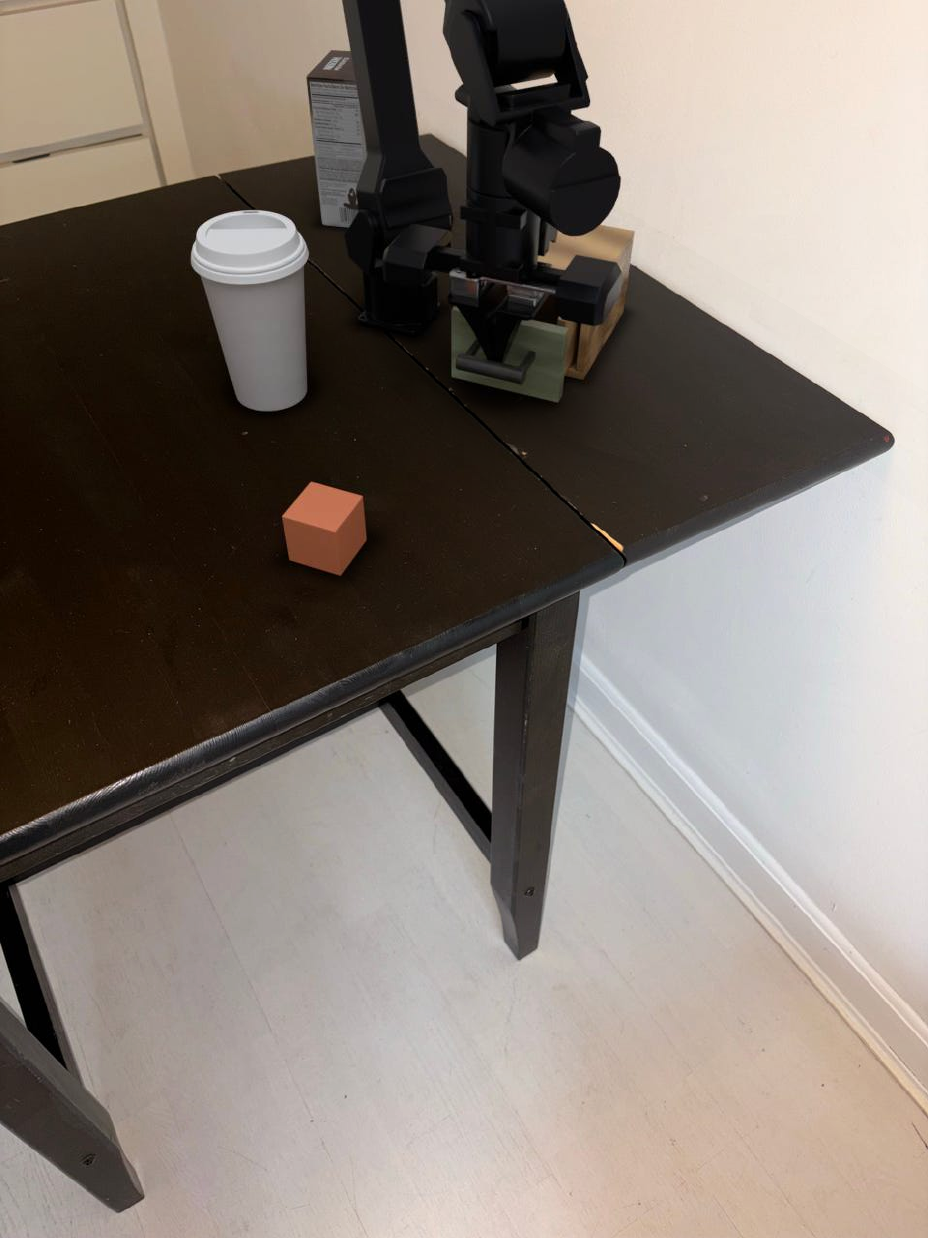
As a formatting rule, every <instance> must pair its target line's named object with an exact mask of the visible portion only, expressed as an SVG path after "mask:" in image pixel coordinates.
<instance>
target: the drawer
mask: <svg viewBox="0 0 928 1238" xmlns="http://www.w3.org/2000/svg"><path fill="white" fill-rule="evenodd" d="M507 295H508V292H507V285H502V291H501V296H500V304H501V303H502V302H503V300H504V299H505V298H506V296H507ZM553 303H554V295H552V294H550V295H549V296H548V298H547V299H546V301H545V302H544V303H543V305H542V306H541V308H540V309H539V311H538V312H537V313H536V315H535V316H534V318H533V319H532V320H529V321H523V320H522V322H521V324H520V327H519V329H518V331H517V334H516V336H515V338H514V341H513V343H512V346H511V348H510V350H509V353H508V355H507V358H506V360H505V362H504V363H501V362H497V361H492V360H488V359H487V358H486V356H485V354H484V352H483V350H482V348H481V346H480V344H479V342H478V340H477V338H476V336H475V334H474V332H473V331H472V329H471V328H470V326H469V325H468V323H467V321H466V320H465V318H464V317H463V315H462V314H461V312H460V311H459V309H458V308H457V307H456V306H453V307H452V309H451V378H453V379H459V380H462V381H467V382H471V383H475V384H478V385H482V386H486V387H487V386H488V387H491V388H495V389H500V390H504V391H508V392H512V393H517V394H520V395H524V396H528V397H533V398H538V399H541V400H545V401H550V402H554V403H559V402H560V400H561V398H562V397H563V391H564V382H565V377H566V376H565V374H566V373H567V371H568V370H569V368H570V366H571V365H572V363H573V362H574V360H575V358H576V357H577V355H578V348H579V338H580V329H581V323H576V322H571V321H566V320H562V319H561V318H560V317H559V315H558V314H557V313H556V311H555V310H554V309H553Z"/></svg>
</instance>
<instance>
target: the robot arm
mask: <svg viewBox="0 0 928 1238" xmlns="http://www.w3.org/2000/svg"><path fill="white" fill-rule="evenodd" d="M443 1H444V4H445V6H444V13H443V21H442V35H443V37H444V40H445V43H446V45H447V47H448V49H449V53H450V57H451V60H452V63H453V65H454V67H455V70H456V72H457V74H458V76H459V78H460V81H461V82H462V84H461V85H460V86H458V88H456V90H455V91H454V99H455V101H456V102H457V103H459V104H460V105H462V106H464V107H465V108H466V171H465V172H466V174H465V175H466V177H465V179H466V181H465V183H466V184H465V200H464V201H463V202H462V203H461V204H460V205H459V214H460V215H459V219H460V220H464V221H465V250H464V249H459V248H454V236H453V234H452V231H453V226H454V219H455V217H454V213H453V208H452V205H451V202H450V197H449V191H448V177H447V174H446V172H445V171H444V169H443V168H442V167H441V166H437V167H436V165H435V164H434V163H433V161H432V160H431V159H430V157H429V156H428V154H427V153H426V152H425V151H424V150H423V148H422V144H421V139H420V131H419V123H418V115H417V109H416V102H415V95H414V87H413V81H412V74H411V67H410V59H409V53H408V46H407V38H406V31H405V24H404V18H403V17H404V16H403V10H402V2H401V0H341V2H342V3H341V4H342V9H343V15H344V21H345V27H346V33H347V38H348V45H349V51H351V57H352V63H353V69H354V75H355V81H356V87H357V93H358V99H359V105H360V111H361V117H362V123H363V129H364V135H365V141H366V147H367V157H366V160H365V163H364V166H363V169H362V172H361V175H360V178H359V181H358V184H357V187H356V195H357V204H358V213H357V215H356V216H355V218H354V220H353V221H352V223H351V225H350V226H349V228H347V230H346V231H345V233H344V242H345V246H346V251H347V257H348V258H349V259H350V261H352V262H353V263H354V264H355V265H356V266H357V267H358V268H359V269H360V270H361V271H362V281H363V282H362V283H363V297H364V308H365V309H364V311H363V312H362V313H361V314H360V315H359V316H357V320H358V321H357V322H358V324H360V325H364V326H369V327H373V328H378V329H382V330H386V331H391V332H395V333H399V334H404V335H407V336H417V335H418V334H419V333H420V332H421V331H422V330H423V328H424V327H425V326H426V325H427V324H428V322H430V321H431V320H432V319H433V317H434V316H435V315H436V314H437V313H438V311H439V310H440V309H441V303H440V301H439V299H438V298H439V295H438V294H439V293H438V290H439V289H438V274H437V272H438V273H439V272H440V273H445V274H448V278H449V279H451V281H450V283H451V288H450V289H451V291H450V292H449V293H448V295H447V297H446V298H447V299H446V300H447V304H448V305H449V306H453V307H454V306H456V307H457V308H458V309H459V311H460V312H461V314H462V315H463V317H464V318H465V320H466V321H467V323H468V325H469V326H470V328H471V329H472V331H473V332H474V334H475V336H476V338H477V340H478V342H479V344H480V346H481V348H482V350H483V352H484V354H485V356H486V358H487V359H488V360H492V361H497V362H501V363H504V362H505V360H506V358H507V355H508V353H509V350H510V348H511V346H512V343H513V341H514V338H515V336H516V334H517V331H518V329H519V327H520V324H521V322H522V320H523V321H529V320H532V319H533V318H534V316H535V315H536V313H537V312H538V311H539V309H540V308H541V306H542V305H543V303H544V302H545V301H546V299H547V298H548V296H549V295H550V294H552V295H554V303H553V309H554V310H555V311H556V313H557V314H558V315H559V317H560V318H561V319H562V320H566V321H571V322H576V323H581V324H586V325H590V326H597V325H601V324H603V323H604V321H605V319H606V318H607V316H608V314H609V313H610V311H611V309H612V308H613V306H614V304H615V303H616V301H617V299H618V298H619V296H620V294H621V287H622V280H623V274H622V271H621V269H620V267H619V265H618V264H617V262H612V261H607V260H602V259H597V258H591V257H586V256H581V255H575V257H574V258H573V260H572V261H571V263H570V264H569V265H568V267H567V268H566V270H562V269H557V268H552V264H549V263H544V262H539V261H538V255H539V256H543V257H544V256H545V255H546V253H547V252H548V251H549V242H550V241H551V242H552V243H555V242H556V239H557V233H558V231H559V232H561V233H562V234H565V235H568V236H582V235H585V234H587V233H589V232H591V231H593V230H594V229H595V228H597V227H598V226H599V225H602V223H603V222H604V221H605V220H606V219H607V218H608V217H609V215H610V214H611V212H612V211H613V209H614V207H615V205H616V202H617V201H618V198H619V193H620V189H621V185H622V184H621V183H622V176H621V175H620V172H619V171H620V170H619V165H618V163H617V161H616V159H615V156H614V155H613V154H612V153H611V152H610V151H609V150H607V149H606V148H604V147H602V146H601V140H602V139H601V138H602V128H601V126H599V125H598V124H596V123H594V122H593V121H591V120H585V119H581V118H580V117H578V116H576V115H574V114H573V113H572V111H576V110H582V109H587V108H590V106H591V97H590V92H589V89H588V88H589V87H588V85H587V80H589V74H588V72H587V69H586V67H585V64H584V61H583V58H582V55H581V53H580V50H579V47H578V42H577V39H576V36H575V32H574V28H573V23H572V20H571V16H570V13H569V10H568V7H567V4H566V1H565V0H443ZM552 76H554V77H555V80H556V82H555V81H554V82H549V83H545V84H539V85H534V86H529V87H524V88H518V89H517V88H516V87H514V86H513V85H517V84H521V83H526V82H532V81H537V80H538V81H539V80H543V79H549V78H551V77H552ZM434 271H435V272H434ZM502 285H507V292H508V295H507V296H506V298H505V299H504V300H503V302H502V303H501V304H500V296H501V291H502Z"/></svg>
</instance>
